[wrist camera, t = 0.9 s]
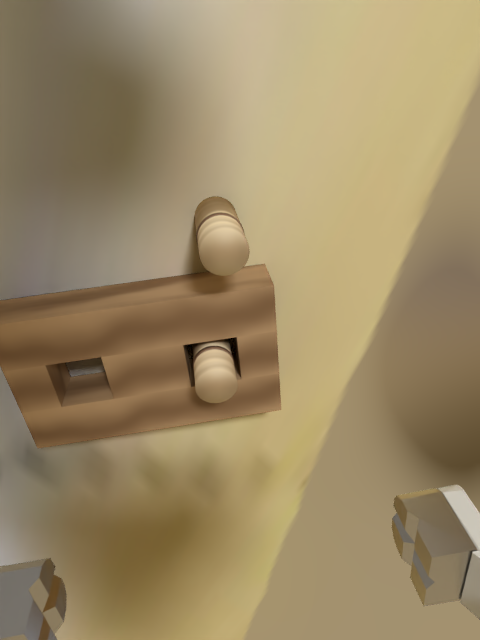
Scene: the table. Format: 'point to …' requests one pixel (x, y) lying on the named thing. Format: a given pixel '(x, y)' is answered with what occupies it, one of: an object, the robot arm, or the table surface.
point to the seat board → (138, 354)
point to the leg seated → (214, 371)
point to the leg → (220, 237)
